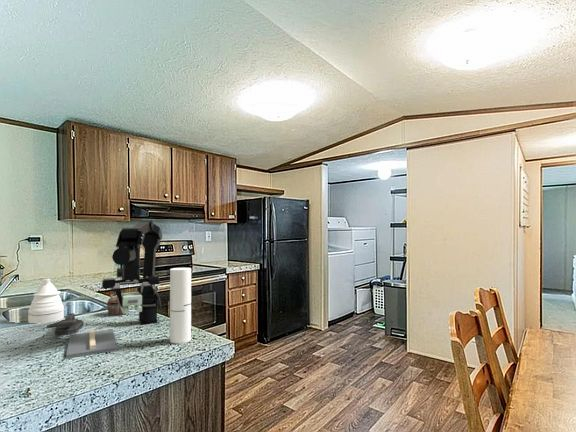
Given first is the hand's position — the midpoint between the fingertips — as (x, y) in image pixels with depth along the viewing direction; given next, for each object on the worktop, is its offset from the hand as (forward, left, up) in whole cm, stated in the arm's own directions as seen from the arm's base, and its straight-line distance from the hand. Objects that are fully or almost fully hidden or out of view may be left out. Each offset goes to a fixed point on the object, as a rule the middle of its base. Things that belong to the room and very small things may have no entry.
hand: (131, 305), depth 126 cm
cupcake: (+1, -43, -12) cm, 45 cm away
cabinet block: (0, 0, -2) cm, 2 cm away
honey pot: (+29, -48, -12) cm, 57 cm away
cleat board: (+12, 0, -12) cm, 17 cm away
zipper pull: (+21, -19, -12) cm, 30 cm away
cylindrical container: (-15, +12, -12) cm, 22 cm away
